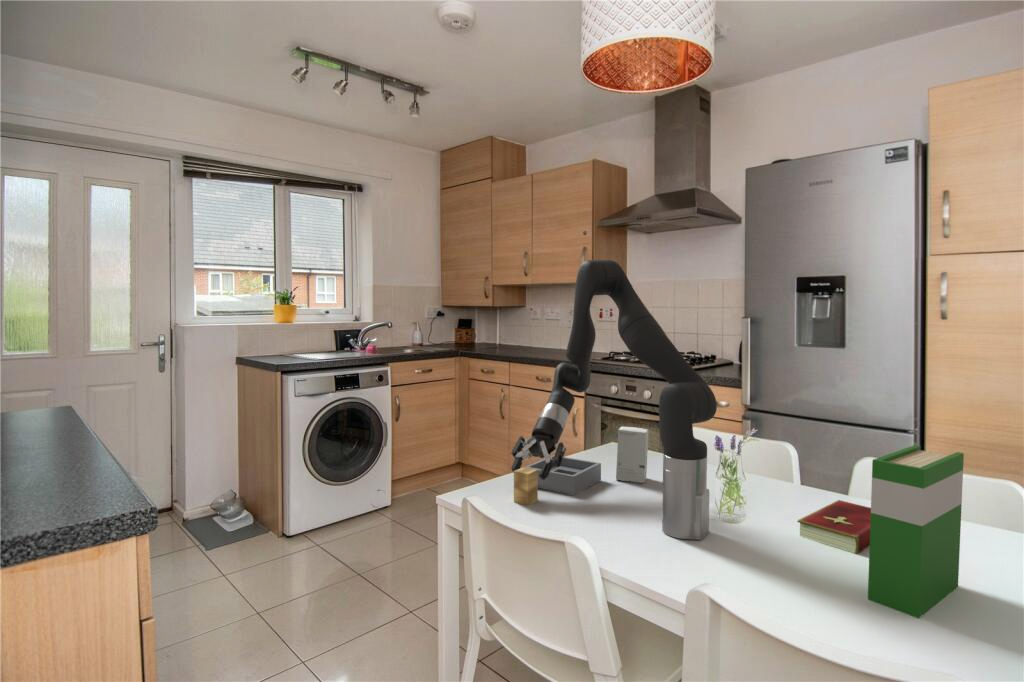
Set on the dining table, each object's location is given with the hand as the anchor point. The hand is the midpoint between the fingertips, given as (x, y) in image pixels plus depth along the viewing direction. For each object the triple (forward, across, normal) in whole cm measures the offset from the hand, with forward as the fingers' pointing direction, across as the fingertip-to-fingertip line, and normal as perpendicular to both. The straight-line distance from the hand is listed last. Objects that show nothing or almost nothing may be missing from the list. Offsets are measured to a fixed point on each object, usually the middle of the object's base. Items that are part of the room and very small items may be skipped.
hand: (527, 475), depth 147 cm
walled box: (-8, 0, +17) cm, 19 cm away
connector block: (+5, 0, +4) cm, 7 cm away
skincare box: (-18, +15, +27) cm, 36 cm away
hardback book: (+6, +82, +3) cm, 82 cm away
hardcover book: (-11, +70, +21) cm, 73 cm away
